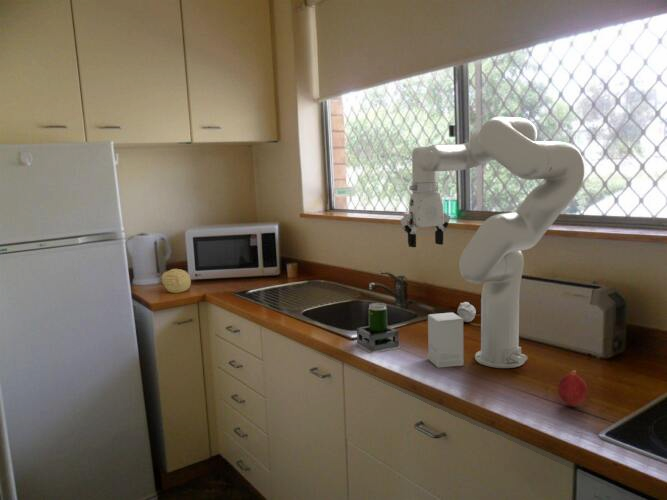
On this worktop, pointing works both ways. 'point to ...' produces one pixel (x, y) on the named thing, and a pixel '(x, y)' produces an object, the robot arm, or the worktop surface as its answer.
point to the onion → (572, 389)
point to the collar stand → (369, 339)
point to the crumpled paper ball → (466, 311)
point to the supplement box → (445, 339)
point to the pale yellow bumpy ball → (176, 280)
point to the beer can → (378, 320)
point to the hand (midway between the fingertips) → (425, 245)
